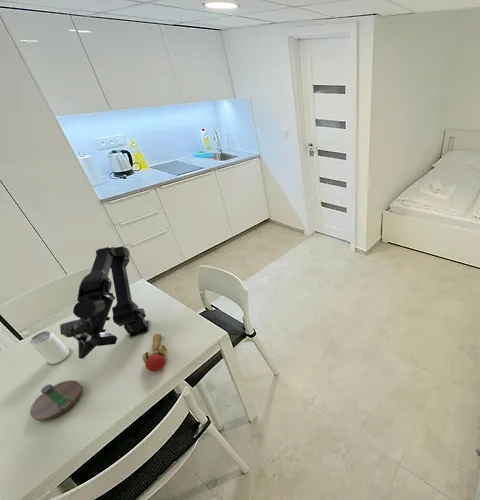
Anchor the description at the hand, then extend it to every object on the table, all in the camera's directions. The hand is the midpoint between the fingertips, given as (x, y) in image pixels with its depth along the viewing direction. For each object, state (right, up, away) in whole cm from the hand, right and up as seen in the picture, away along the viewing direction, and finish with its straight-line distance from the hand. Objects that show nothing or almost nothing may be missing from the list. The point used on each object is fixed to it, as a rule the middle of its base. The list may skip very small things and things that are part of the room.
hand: (81, 358), depth 97 cm
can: (-23, -5, +15) cm, 28 cm away
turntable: (-8, -14, 0) cm, 16 cm away
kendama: (+16, -5, +15) cm, 23 cm away
